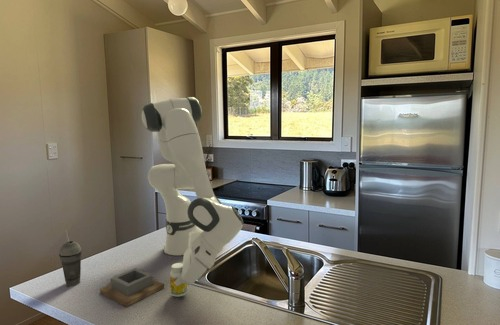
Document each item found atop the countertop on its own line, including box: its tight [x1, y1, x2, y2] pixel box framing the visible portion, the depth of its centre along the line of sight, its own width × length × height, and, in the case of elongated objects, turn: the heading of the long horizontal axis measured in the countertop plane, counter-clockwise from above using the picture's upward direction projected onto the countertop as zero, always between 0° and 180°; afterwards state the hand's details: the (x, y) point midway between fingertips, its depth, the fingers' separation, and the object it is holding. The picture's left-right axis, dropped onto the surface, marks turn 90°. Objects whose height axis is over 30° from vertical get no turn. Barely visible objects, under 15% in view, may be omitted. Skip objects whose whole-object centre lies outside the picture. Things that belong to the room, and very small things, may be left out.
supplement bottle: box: [169, 262, 188, 297], centre depth 111 cm, size 5×5×10 cm
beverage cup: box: [58, 229, 83, 287], centre depth 120 cm, size 7×7×20 cm
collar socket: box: [99, 267, 165, 308], centre depth 116 cm, size 15×15×5 cm
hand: (176, 278), depth 111 cm, fingers closed on supplement bottle, 5 cm apart
